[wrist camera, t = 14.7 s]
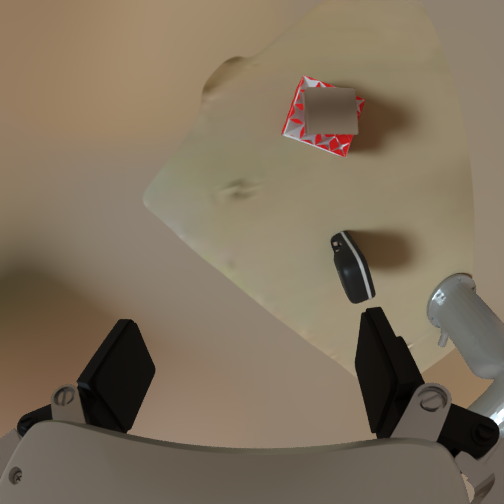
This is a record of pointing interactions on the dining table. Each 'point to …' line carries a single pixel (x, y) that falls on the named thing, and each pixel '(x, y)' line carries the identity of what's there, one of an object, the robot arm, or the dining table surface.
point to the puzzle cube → (297, 125)
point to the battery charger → (352, 268)
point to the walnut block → (330, 110)
